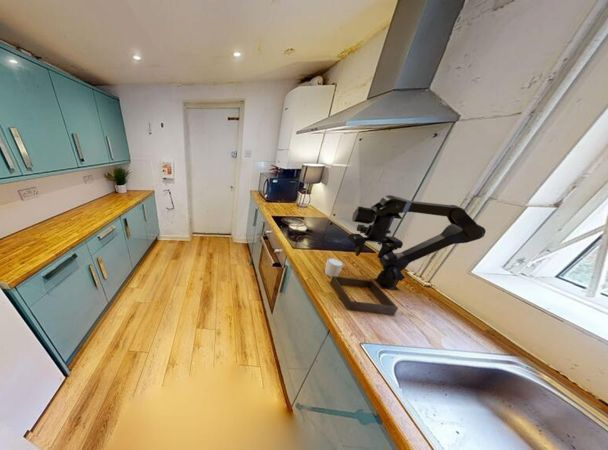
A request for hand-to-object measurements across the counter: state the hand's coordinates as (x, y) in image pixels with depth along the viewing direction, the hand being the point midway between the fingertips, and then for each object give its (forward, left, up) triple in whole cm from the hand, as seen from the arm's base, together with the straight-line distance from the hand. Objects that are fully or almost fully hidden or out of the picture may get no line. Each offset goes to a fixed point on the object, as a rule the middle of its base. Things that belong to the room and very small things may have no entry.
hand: (367, 256), depth 89 cm
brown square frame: (+7, +14, -12) cm, 20 cm away
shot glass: (+12, -1, -12) cm, 17 cm away
